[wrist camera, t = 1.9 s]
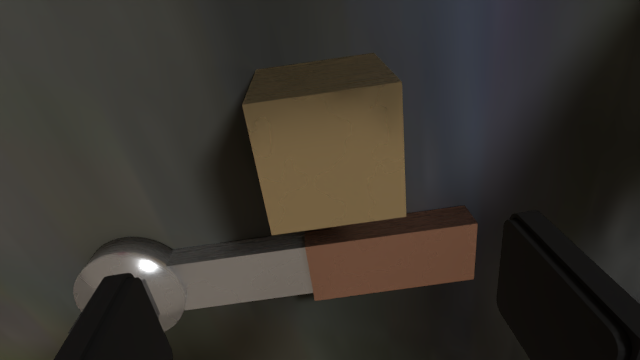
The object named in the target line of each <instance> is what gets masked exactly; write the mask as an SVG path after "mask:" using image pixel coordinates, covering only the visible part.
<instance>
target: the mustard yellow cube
mask: <svg viewBox="0 0 640 360" xmlns="http://www.w3.org/2000/svg"><path fill="white" fill-rule="evenodd" d="M242 107H243V111H244V116H245V120H246V124H247V129H248V133H249V138H250V142H251V146H252V151H253V155H254V160H255V164H256V168H257V173H258V177H259V182H260V186H261V190H262V195H263V199H264V204H265V208H266V212H267V217H268V221H269V225H270V230H271V234H272V235H278V234H285V233H292V232H300V231H307V230H314V229H321V228H328V227H336V226H343V225H350V224H357V223H365V222H372V221H379V220H386V219H393V218H401V217H406V192H405V162H404V132H403V101H402V82H401V81H400V79H399V78H398V77H397V76H396V75H395V74H394V73H393V72H392V71H391V70H390V69H389V68H388V67H387V66H386V65H385V64H384V63H383V62H382V61H381V60H380V59H379V58H378V57H377V56H376V55H375V54H374V53H369V54H362V55H355V56H348V57H341V58H334V59H328V60H321V61H314V62H307V63H300V64H293V65H286V66H279V67H272V68H265V69H258V70H256V71H255V74H254V76H253V79H252V81H251V84H250V86H249V89H248V91H247V94H246V96H245V99H244V101H243V104H242Z"/></svg>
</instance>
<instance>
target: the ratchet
mask: <svg viewBox="0 0 640 360" xmlns="http://www.w3.org/2000/svg"><path fill="white" fill-rule="evenodd" d="M477 226H478V223H477V222H476V221H475V219H474V218H473V216H472V215H471V214H470V212H469V211H468V209H467V208H466V207H465V205H464V206H457V207H450V208H442V209H435V210H428V211H421V212H414V213H406V217H401V218H393V219H386V220H379V221H372V222H365V223H357V224H350V225H343V226H336V227H328V228H321V229H314V230H307V231H305V232H298V233H291V234H284V235H277V236H269V237H262V238H255V239H248V240H241V241H233V242H226V243H219V244H212V245H204V246H197V247H190V248H183V249H176V250H173V249H171V248H170V247H168V246H166V245H164V244H162V243H160V242H157V241H154V240H151V239H147V238H141V237H124V238H119V239H115V240H112V241H110V242H108V243H105V244H104V245H102V246H101V247H100V248H99V249H98V250H97V251H96V252H95V253H94V254H93V256H92V257H91V259H90V260H89V261H88V263H87V264H86V266H85V267H84V268H83V270H82V271H81V273H80V274H79V275H78V277H77V279H76V281H75V284H74V298H75V302H76V304H77V306H78V308H79V309H80V311H81V314H82V312H83V311H84V309H85V307H86V306H87V304H88V302H89V301H90V299H91V297H92V296H93V294H94V292H95V291H96V289H97V287H98V286H99V284H100V282H101V281H102V279H103V278H104V277H106V276H110V275H117V274H123V273H131V274H132V275H133V276H134V278H135V277H138V278H140V279H141V281H142V283H143V285H144V287H145V290H146V292H147V294H148V297H149V299H150V301H151V303H152V306H153V308H154V310H155V313H156V315H157V317H158V319H159V322H160V324H161V326H162V329H163V331H164V332H165V331H167V330H168V329H170V328H171V327H173V326H174V325H175V324H176V323H177V322H178V321H179V319H180V318H181V316H182V314H183V311H184V310H191V309H198V308H206V307H213V306H220V305H228V304H235V303H242V302H250V301H257V300H264V299H272V298H279V297H286V296H294V295H301V294H308V293H314V299H315V301H317V300H325V299H332V298H340V297H347V296H354V295H362V294H369V293H376V292H384V291H391V290H398V289H406V288H413V287H420V286H428V285H435V284H442V283H450V282H457V281H464V280H472V279H474V270H475V255H476V241H477ZM81 314H80V315H79V317H80V316H81ZM79 317H78V319H79ZM78 319H77V320H78ZM77 320H76V322H77ZM76 322H75V323H74V325H75V324H76ZM74 325H73V326H72V328H71V330H72V329H73V327H74ZM71 330H70V331H69V333H68V334H70V332H71Z"/></svg>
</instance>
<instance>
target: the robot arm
mask: <svg viewBox="0 0 640 360" xmlns="http://www.w3.org/2000/svg"><path fill="white" fill-rule="evenodd" d="M497 305H498V308H499V311H500V313H501V315H502V316H503V318H504V319H505V321H506V322H507V324H508V325H509V327H510V329H511V330H512V332H513V333H514V335H515V336H516V338H517V339H518V341H519V343H520V344H521V346H522V347H523V349H524V350H525V352H526V354H527V355H528V357H529V358H530V360H640V304H639V303H638V302H637V301H636V300H635V299H633V298H632V297H631V296H630V295H629V294H628V293H627V292H626V291H625V290H624V289H623V288H622V287H620V286H619V285H618V284H617V283H616V282H615V281H614V280H613V279H612V278H611V277H610V276H609V275H607V274H606V273H605V272H604V271H603V270H602V269H601V268H600V267H599V266H598V265H597V264H596V263H594V262H593V261H592V260H591V259H590V258H589V257H588V256H587V255H586V254H585V253H584V252H582V251H581V250H580V249H579V248H578V247H577V246H576V245H575V244H574V243H573V242H572V241H571V240H569V239H568V238H567V237H566V236H565V235H564V234H563V233H562V232H561V231H560V230H559V229H558V228H556V227H555V226H554V225H553V224H552V223H551V222H550V221H549V220H548V219H547V218H546V217H545V216H543V215H542V214H541V213H540V212H539V211H535V210H534V211H527V212H521V213H514V214H512V215H511V217H510V220H507V221H505V223H504V229H503V239H502V249H501V259H500V269H499V279H498V289H497ZM54 360H173V354H172V349H171V347H170V345H169V342H168V340H167V338H166V335H165V333H164V331H163V329H162V326H161V324H160V322H159V319H158V317H157V315H156V313H155V310H154V308H153V306H152V303H151V301H150V299H149V297H148V294H147V292H146V290H145V287H144V285H143V283H142V281H141V279H140V278H138V277H135V278H134V276H133V275H132V274H131V273H123V274H117V275H110V276H106V277H104V278H103V279H102V281H101V282H100V284H99V286H98V287H97V289H96V291H95V292H94V294H93V296H92V297H91V299H90V301H89V302H88V304H87V306H86V307H85V309H84V311H83V312H82V314H81V316H80V317H79V319H78V320H77V322H76V324H75V325H74V327H73V329H72V330H71V332H70V334H69V335H68V337H67V339H66V340H65V342H64V344H63V345H62V347H61V349H60V350H59V352H58V354H57V355H56V357H55V359H54Z"/></svg>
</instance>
